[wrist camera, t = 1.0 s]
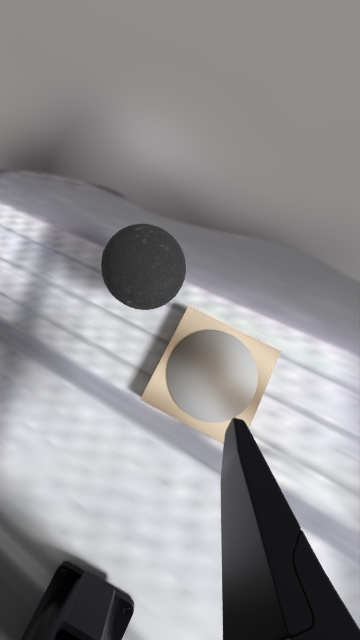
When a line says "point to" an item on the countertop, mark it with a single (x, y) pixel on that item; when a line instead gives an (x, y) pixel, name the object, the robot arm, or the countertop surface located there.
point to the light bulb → (143, 266)
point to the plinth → (210, 375)
